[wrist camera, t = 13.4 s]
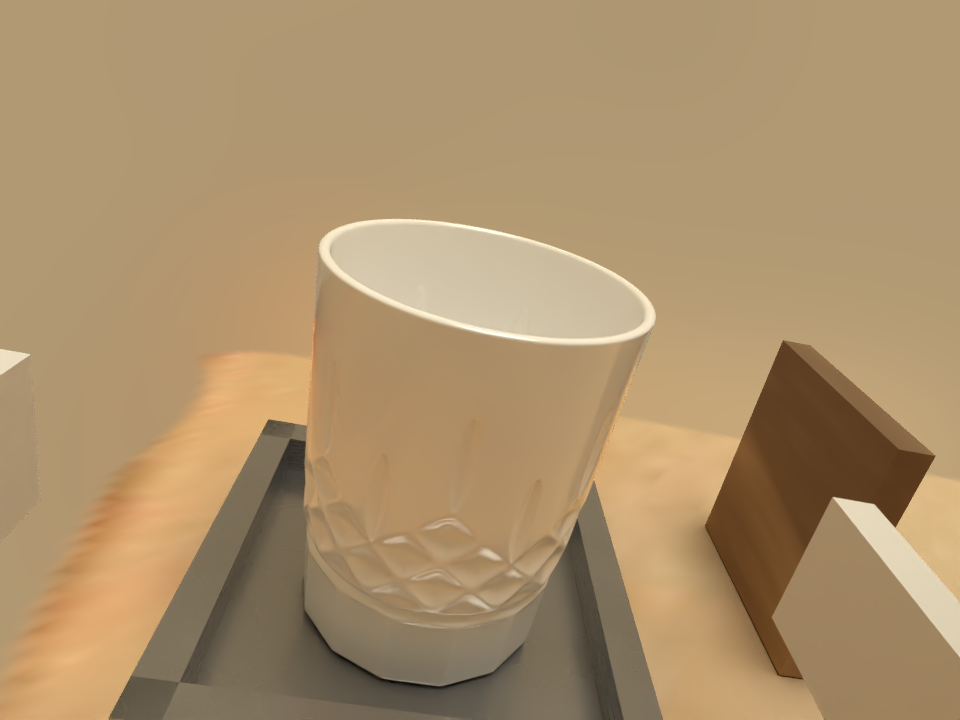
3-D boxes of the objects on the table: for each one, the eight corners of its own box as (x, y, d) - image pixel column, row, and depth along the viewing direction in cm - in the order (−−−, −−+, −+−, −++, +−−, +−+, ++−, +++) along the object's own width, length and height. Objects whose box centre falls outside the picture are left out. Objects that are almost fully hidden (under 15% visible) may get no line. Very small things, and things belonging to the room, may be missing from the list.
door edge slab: (729, 529, 27) (810, 345, 24) (810, 679, 21) (935, 456, 17) (705, 525, 27) (783, 340, 24) (778, 674, 20) (898, 449, 17)
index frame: (581, 505, 26) (591, 473, 26) (661, 831, 15) (682, 788, 15) (265, 454, 25) (268, 419, 25) (110, 766, 14) (108, 718, 14)
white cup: (345, 481, 24) (386, 201, 20) (562, 548, 23) (652, 269, 19) (222, 649, 17) (250, 268, 13) (531, 754, 16) (663, 381, 12)
